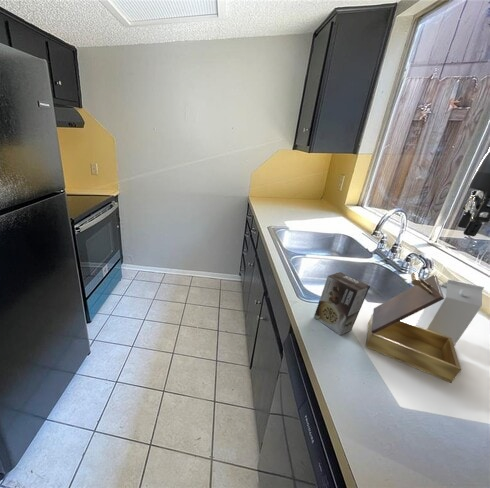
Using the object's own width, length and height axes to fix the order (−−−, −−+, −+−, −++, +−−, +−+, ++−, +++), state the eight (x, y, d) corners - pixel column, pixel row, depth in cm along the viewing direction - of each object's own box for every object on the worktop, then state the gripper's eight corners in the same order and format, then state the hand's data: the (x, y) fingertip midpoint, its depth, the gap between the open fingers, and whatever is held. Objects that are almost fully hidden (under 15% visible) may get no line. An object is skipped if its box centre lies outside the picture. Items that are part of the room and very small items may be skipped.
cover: (437, 276, 70) (418, 262, 71) (444, 298, 60) (422, 282, 62) (375, 310, 81) (361, 298, 83) (373, 333, 71) (357, 319, 73)
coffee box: (352, 329, 80) (372, 286, 73) (339, 335, 77) (358, 291, 71) (325, 312, 87) (340, 271, 81) (312, 316, 85) (327, 274, 78)
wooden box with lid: (443, 350, 74) (451, 338, 72) (451, 383, 64) (461, 369, 62) (368, 322, 83) (374, 310, 81) (365, 346, 74) (371, 333, 72)
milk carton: (415, 324, 84) (444, 273, 76) (445, 332, 80) (478, 281, 73) (421, 337, 78) (453, 285, 70) (453, 347, 75) (490, 293, 67)
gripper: (533, 176, 58) (492, 242, 64) (512, 171, 68) (478, 228, 75) (484, 172, 62) (450, 234, 69) (471, 167, 72) (442, 222, 79)
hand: (465, 231), depth 72 cm, fingers open, 8 cm apart
